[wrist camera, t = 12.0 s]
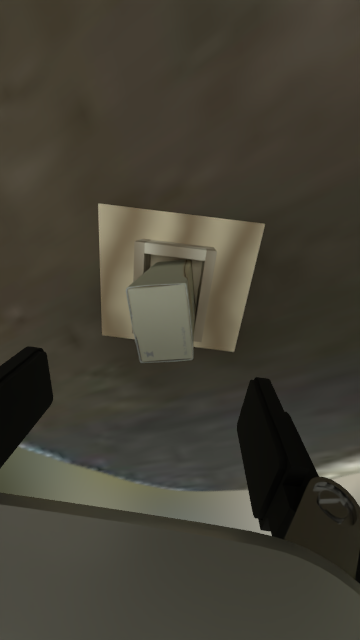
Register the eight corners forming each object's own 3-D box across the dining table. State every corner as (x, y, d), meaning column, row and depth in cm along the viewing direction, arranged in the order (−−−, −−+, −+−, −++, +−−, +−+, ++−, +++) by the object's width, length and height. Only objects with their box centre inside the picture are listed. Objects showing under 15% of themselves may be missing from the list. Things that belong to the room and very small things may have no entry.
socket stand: (262, 223, 25) (277, 224, 20) (232, 347, 32) (239, 369, 27) (102, 204, 25) (81, 200, 21) (105, 331, 32) (89, 350, 27)
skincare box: (195, 307, 28) (196, 363, 17) (160, 310, 29) (139, 366, 18) (191, 256, 26) (189, 282, 15) (153, 260, 26) (123, 287, 15)
